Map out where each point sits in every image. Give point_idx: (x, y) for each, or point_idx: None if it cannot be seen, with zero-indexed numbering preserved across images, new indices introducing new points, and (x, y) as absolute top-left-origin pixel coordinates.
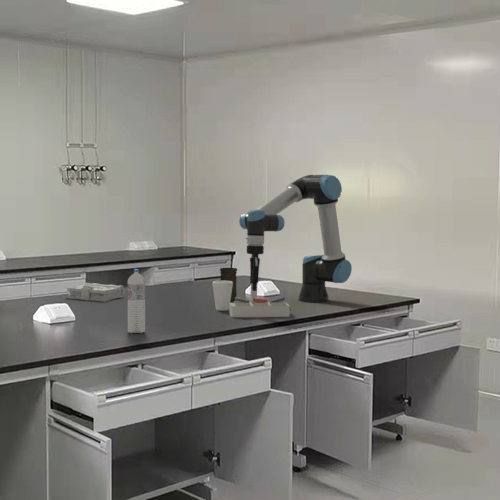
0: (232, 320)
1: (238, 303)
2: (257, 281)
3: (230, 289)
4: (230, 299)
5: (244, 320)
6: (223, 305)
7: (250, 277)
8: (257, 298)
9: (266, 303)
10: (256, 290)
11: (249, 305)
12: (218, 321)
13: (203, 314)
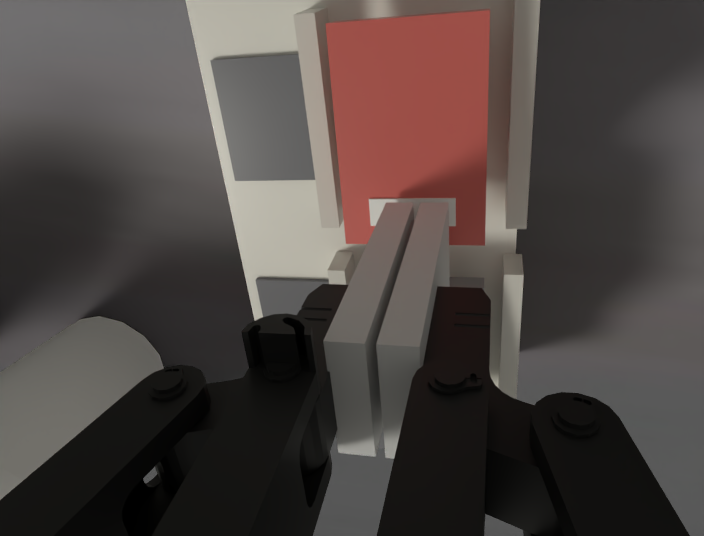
0: (669, 370)
1: (514, 397)
2: (615, 434)
3: (11, 450)
4: (44, 361)
5: (701, 271)
6: None
7: (154, 521)
8: (404, 182)
9: (536, 23)
10: (437, 273)
11: (520, 265)
12: (691, 470)
13: (353, 499)
